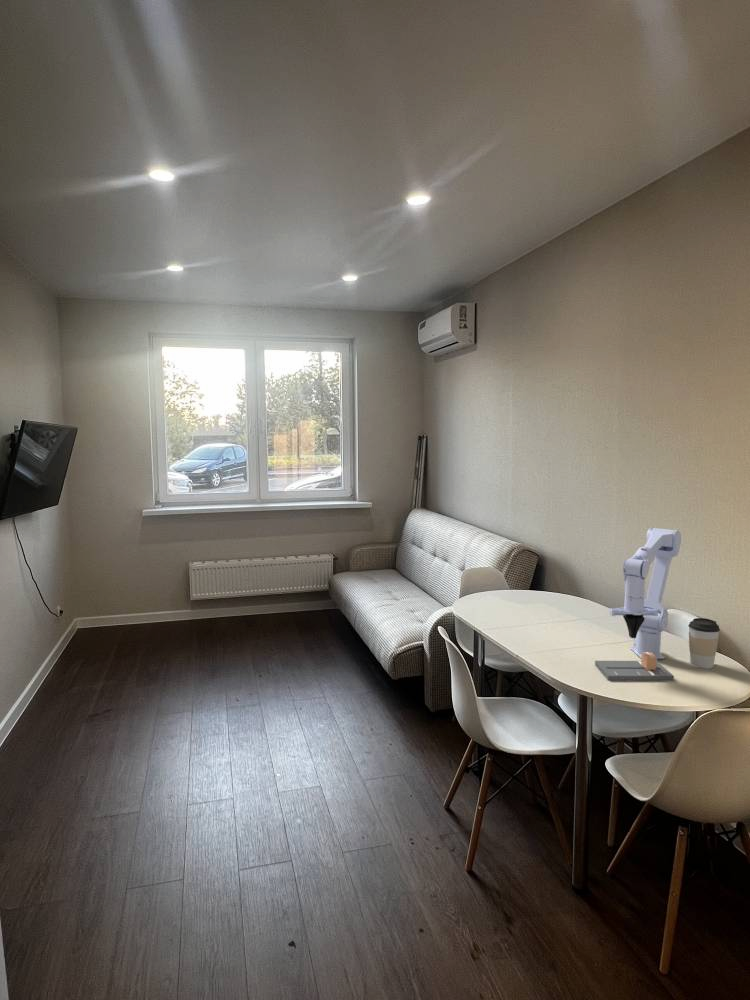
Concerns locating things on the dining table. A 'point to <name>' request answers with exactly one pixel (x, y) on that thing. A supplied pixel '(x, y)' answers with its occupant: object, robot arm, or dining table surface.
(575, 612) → the dining table surface
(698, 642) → the coffee cup
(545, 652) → the dining table surface
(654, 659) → the fader tab
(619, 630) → the dining table surface
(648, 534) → the robot arm
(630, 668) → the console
